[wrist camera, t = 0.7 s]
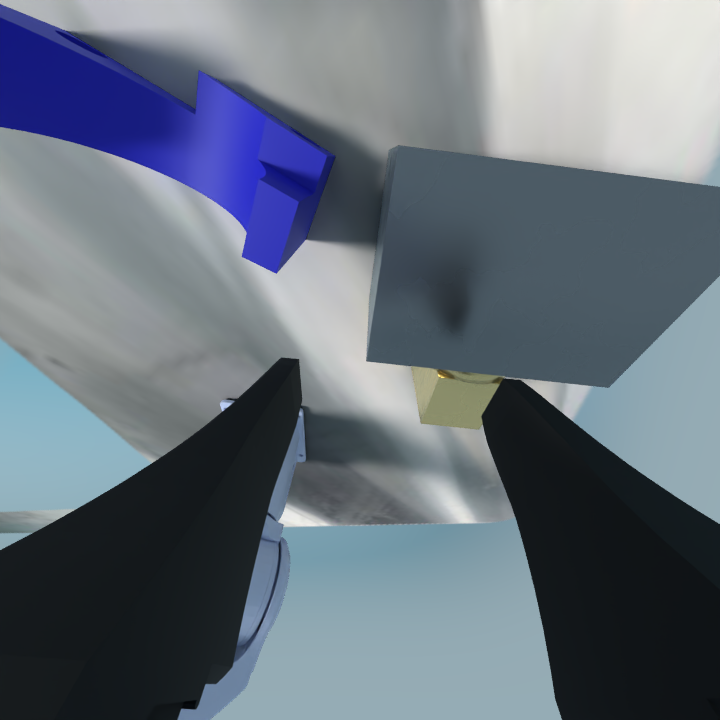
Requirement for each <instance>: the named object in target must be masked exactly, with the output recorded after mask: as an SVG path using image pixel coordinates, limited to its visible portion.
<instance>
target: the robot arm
mask: <svg viewBox="0 0 720 720" xmlns="http://www.w3.org/2000/svg"><path fill="white" fill-rule="evenodd" d="M301 403H302V391H301V379H300V367H299V359H291V358H280V359H279V360H278V361H277V362H276V363H275V364H274V365H273V366H272V367H271V368H270V369H269V370H268V371H267V372H266V373H265V374H264V375H263V376H262V377H260V378H259V379H258V380H257V381H256V382H255V383H254V384H253V385H252V386H251V387H250V388H249V389H248V390H247V391H245V392H244V393H243V394H242V395H241V396H240V397H239V398H238V399H237V400H236V401H233V400H222V402H221V403H220V406H221V409H222V411H223V412H221V413H220V414H219V415H218V416H217V417H215V418H214V419H213V420H212V421H210V422H209V423H208V424H207V425H205V426H204V427H203V428H202V429H200V430H199V431H198V432H196V433H195V434H194V435H192V436H191V437H190V438H188V439H187V440H185V441H184V442H183V443H181V444H180V445H178V446H177V447H176V448H174V449H173V450H171V451H170V452H168V453H167V454H165V455H164V456H162V457H161V458H159V459H158V460H156V461H155V462H153V463H152V464H150V465H149V466H147V467H146V468H144V469H142V470H141V471H139V472H138V473H136V474H135V475H133V476H132V477H130V478H128V479H127V480H125V481H124V482H122V483H120V484H119V485H117V486H115V487H114V488H112V489H110V490H109V491H107V492H105V493H103V494H102V495H100V496H98V497H97V498H95V499H93V500H92V501H90V502H88V503H86V504H85V505H83V506H81V507H79V508H78V509H76V510H74V511H72V512H71V513H69V514H67V515H65V516H64V517H62V518H60V519H58V520H56V521H54V522H53V523H51V524H49V525H47V526H45V527H44V528H42V529H40V530H38V531H36V532H34V533H32V534H30V535H29V536H27V537H25V538H23V539H21V540H19V541H17V542H15V543H13V544H11V545H10V546H8V547H6V548H4V549H2V550H0V720H210V719H211V718H213V717H214V716H215V715H216V714H217V713H219V712H220V711H221V710H222V709H223V708H224V707H226V706H227V705H228V704H229V703H230V702H231V701H232V700H234V699H235V698H236V697H237V696H238V695H239V694H240V693H241V692H242V691H243V690H244V689H245V687H246V686H247V684H248V681H249V678H250V675H251V673H252V672H253V670H254V667H255V664H256V662H257V659H258V656H259V653H260V651H261V648H262V646H263V644H264V641H265V639H266V637H267V635H268V632H269V631H270V629H271V628H272V626H273V624H274V622H275V620H276V618H277V616H278V613H279V611H280V608H281V605H282V602H283V599H284V596H285V592H286V588H287V583H288V579H289V572H290V554H289V550H288V545H287V542H286V540H285V539H284V538H283V537H281V533H282V530H283V526H284V525H283V524H281V523H278V521H279V519H280V518H281V516H282V514H283V511H284V508H285V504H286V500H287V496H288V493H289V489H290V485H291V481H292V477H293V473H294V470H295V466H296V462H304V461H305V460H306V448H305V431H304V414H303V409H302V408H301ZM481 418H482V422H483V427H484V432H485V435H486V439H487V443H488V446H489V449H490V451H491V454H492V457H493V459H494V462H495V465H496V467H497V470H498V472H499V475H500V477H501V480H502V483H503V485H504V488H505V490H506V493H507V495H508V498H509V501H510V503H511V506H512V509H513V512H514V514H515V517H516V520H517V524H518V527H519V531H520V534H521V538H522V541H523V545H524V549H525V552H526V556H527V560H528V564H529V568H530V572H531V576H532V580H533V584H534V588H535V592H536V597H537V602H538V606H539V611H540V616H541V620H542V625H543V629H544V635H545V641H546V646H547V651H548V657H549V663H550V669H551V674H552V681H553V687H554V693H555V699H556V703H557V706H558V708H559V712H560V715H561V718H562V720H720V524H718V523H717V522H715V521H714V520H712V519H710V518H709V517H707V516H705V515H704V514H702V513H701V512H699V511H697V510H696V509H694V508H693V507H691V506H689V505H688V504H686V503H685V502H683V501H682V500H680V499H678V498H677V497H675V496H674V495H672V494H671V493H670V492H668V491H666V490H665V489H664V488H662V487H661V486H659V485H658V484H656V483H655V482H653V481H652V480H650V479H649V478H647V477H646V476H644V475H643V474H641V473H640V472H638V471H637V470H636V469H634V468H633V467H632V466H630V465H629V464H627V463H626V462H625V461H623V460H622V459H620V458H619V457H618V456H617V455H615V454H614V453H613V452H611V451H610V450H609V449H607V448H606V447H605V446H603V445H602V444H601V443H599V442H598V441H597V440H595V439H594V438H593V437H592V436H590V435H589V434H588V433H586V432H585V431H584V430H583V429H581V428H580V427H579V426H578V425H576V424H575V423H574V422H573V421H571V420H570V419H569V418H568V417H567V416H565V415H564V414H563V413H562V412H560V411H559V410H558V409H557V408H555V407H554V406H553V405H552V404H551V403H549V402H548V401H547V400H546V399H544V398H543V397H542V396H541V395H539V394H538V393H537V392H536V391H534V390H533V389H532V388H531V387H529V386H528V385H527V384H525V383H524V382H522V381H521V380H514V379H504V378H503V380H502V381H501V383H500V385H499V386H498V388H497V390H496V392H495V393H494V395H493V397H492V398H491V400H490V402H489V404H488V405H487V407H486V409H485V411H484V412H483V414H482V416H481Z"/></svg>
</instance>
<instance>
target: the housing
mask: <svg viewBox="0 0 720 720" xmlns="http://www.w3.org/2000/svg"><path fill="white" fill-rule="evenodd" d="M719 276H720V187H715V186H708V185H700V184H692V183H685V182H677V181H669V180H662V179H654V178H646V177H638V176H631V175H623V174H615V173H608V172H600V171H592V170H585V169H577V168H569V167H561V166H554V165H546V164H538V163H531V162H523V161H515V160H507V159H500V158H492V157H484V156H477V155H469V154H461V153H453V152H446V151H438V150H430V149H423V148H415V147H407V146H399V145H398V146H396V147H394V148H392V149H391V150H389V153H388V160H387V168H386V176H385V183H384V191H383V198H382V206H381V213H380V221H379V229H378V236H377V244H376V251H375V259H374V267H373V274H372V282H371V289H370V297H369V315H368V336H367V357H366V361H368V362H377V363H387V364H396V365H405V366H414V367H423V368H432V369H442V370H451V371H460V372H469V373H478V374H487V375H497V376H506V377H515V378H524V379H533V380H542V381H552V382H561V383H570V384H579V385H588V386H597V387H607V388H608V387H610V386H611V385H612V384H613V383H614V382H615V381H616V380H617V379H618V378H619V377H620V376H621V375H622V374H623V373H624V371H626V369H628V368H629V367H630V366H631V364H633V362H634V361H635V360H637V358H638V357H639V356H640V355H641V354H642V353H643V352H644V351H645V350H646V349H647V348H648V347H649V346H650V345H651V344H652V343H653V342H654V341H655V340H656V339H657V338H658V337H659V336H660V335H661V334H662V333H663V332H664V331H665V330H666V329H667V328H668V327H669V326H670V325H671V324H672V323H673V322H674V321H675V320H676V319H677V318H678V317H679V316H680V315H681V314H682V313H683V312H684V311H685V310H686V309H687V308H688V307H689V306H690V304H692V303H693V302H694V301H695V300H696V299H697V298H698V297H699V296H700V295H701V294H702V293H703V292H704V291H705V290H706V289H707V288H708V287H709V286H710V285H711V284H712V283H713V282H714V281H715V280H716V279H717V278H718V277H719Z"/></svg>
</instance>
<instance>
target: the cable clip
mask: <svg viewBox="0 0 720 720" xmlns="http://www.w3.org/2000/svg"><path fill="white" fill-rule="evenodd" d="M0 127H4V128H10V129H16V130H21V131H27V132H31V133H36V134H41V135H45V136H50V137H54V138H58V139H62V140H66V141H70V142H73V143H77V144H81V145H84V146H88V147H91V148H94V149H97V150H101V151H104V152H107V153H110V154H113V155H116V156H119V157H122V158H124V159H127V160H130V161H133V162H135V163H138V164H140V165H143V166H145V167H148V168H150V169H153V170H155V171H158V172H160V173H162V174H164V175H167V176H169V177H171V178H173V179H175V180H177V181H179V182H181V183H183V184H185V185H187V186H189V187H191V188H193V189H195V190H197V191H198V192H200V193H202V194H204V195H205V196H207V197H208V198H210V199H212V200H213V201H215V202H216V203H218V204H219V205H220V206H222V207H223V208H224V209H226V210H227V211H228V212H229V213H231V214H232V215H233V216H234V217H235V218H236V219H237V220H238V221H239V222H240V223H241V225H242V226H243V227H244V229H245V230H246V232H247V235H246V240H245V244H244V249H243V253H242V257H244V258H246V259H248V260H250V261H252V262H254V263H256V264H258V265H260V266H262V267H264V268H266V269H268V270H270V271H272V272H274V273H276V274H277V272H278V271H279V270H280V269H281V268H282V267H283V265H284V264H285V263H286V262H287V261H288V260H289V258H290V257H291V256H292V255H293V254H294V253H295V251H296V250H297V249H298V248H299V247H300V246H301V244H302V243H303V242H304V241H305V240H306V237H307V235H308V232H309V229H310V226H311V223H312V221H313V218H314V215H315V212H316V209H317V207H318V204H319V201H320V198H321V195H322V193H323V190H324V187H325V184H326V181H327V179H328V176H329V173H330V170H331V167H332V165H333V162H334V159H335V155H333V154H331V153H330V152H328V151H327V150H325V149H324V148H322V147H321V146H319V145H317V144H316V143H314V142H313V141H311V140H310V139H308V138H307V137H305V136H304V135H302V134H300V133H299V132H297V131H296V130H294V129H293V128H291V127H290V126H288V125H287V124H285V123H283V122H282V121H280V120H279V119H277V118H276V117H274V116H273V115H271V114H269V113H268V112H266V111H265V110H263V109H262V108H260V107H259V106H257V105H256V104H254V103H252V102H251V101H249V100H248V99H246V98H245V97H243V96H242V95H240V94H239V93H237V92H235V91H234V90H232V89H231V88H229V87H228V86H226V85H225V84H223V83H221V82H220V81H218V80H217V79H215V78H213V77H211V76H209V75H207V74H205V73H203V72H201V71H199V75H198V88H197V101H196V109H194V108H192V107H191V106H189V105H187V104H186V103H184V102H182V101H181V100H179V99H177V98H176V97H174V96H172V95H171V94H169V93H168V92H166V91H164V90H163V89H161V88H159V87H158V86H156V85H154V84H153V83H151V82H149V81H148V80H146V79H144V78H143V77H141V76H139V75H138V74H136V73H134V72H133V71H131V70H130V69H128V68H126V67H125V66H123V65H121V64H120V63H118V62H116V61H115V60H113V59H111V58H110V57H108V56H106V55H105V54H103V53H101V52H100V51H98V50H96V49H95V48H93V47H91V46H90V45H88V44H87V43H85V42H83V41H82V40H80V39H78V38H77V37H75V36H73V35H72V34H70V33H68V32H67V31H65V30H62V29H60V28H58V27H55V26H53V25H50V24H48V23H45V22H43V21H40V20H38V19H35V18H33V17H30V16H28V15H26V14H23V13H21V12H18V11H16V10H13V9H11V8H8V7H6V6H3V5H1V4H0Z"/></svg>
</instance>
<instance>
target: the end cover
mask: <svg viewBox="0 0 720 720" xmlns="http://www.w3.org/2000/svg"><path fill="white" fill-rule="evenodd" d="M411 368H412V374H413V380H414V386H415V392H416V398H417V404H418V410H419V416H420V422H421V424H431V425H440V426H450V427H460V428H469V429H480V427H481V426H482V424H483V422H482V418H481V416H482V414H483V412H484V411H485V409H486V407H487V405H488V404H489V402H490V400H491V398H492V397H493V395H494V393H495V392H496V390H497V388H498V386H499V385H500V383H501V381H502V380H503V378H505V376H497V375H487V374H478V373H469V372H460V371H451V370H442V369H432V368H423V367H414V366H412V367H411Z"/></svg>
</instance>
